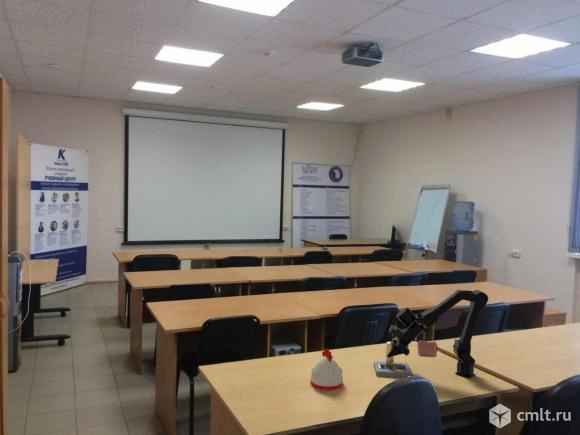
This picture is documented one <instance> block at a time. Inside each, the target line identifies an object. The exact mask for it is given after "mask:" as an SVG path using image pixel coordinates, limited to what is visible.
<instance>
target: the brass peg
mask: <svg viewBox="0 0 580 435" xmlns="http://www.w3.org/2000/svg"><path fill="white" fill-rule="evenodd" d="M385 345H386V349H385V351H386V352H385V362H386V366H384V369H388V370H395V371H396V368H395V367H394V361H395V356H393V357H389V358H388V357H387V355H388V354H389V352H390V351H391V350H392V349H393V347H394V342H392V341H386V342H385Z"/></svg>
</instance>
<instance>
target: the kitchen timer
mask: <svg viewBox="0 0 580 435" xmlns="http://www.w3.org/2000/svg"><path fill="white" fill-rule="evenodd" d="M321 355H322V357H321V358H319V359H318V360H317V361H316V363H315V364H314V366H313V367H311V375H310V385H311V386H312V387H313V388H314V389H317V388H318V389H317V390H321V391H336V390H338V389H341V388H342V387H343V386H344V385H343V384H344V379H343V368H342V367H341V366H340V365H339V364H338V362H337V360H335V358H333V357H334V355H332V351H330V349H328V348H325V349H324V350H323V351H321Z"/></svg>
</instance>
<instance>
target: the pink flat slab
mask: <svg viewBox="0 0 580 435" xmlns="http://www.w3.org/2000/svg"><path fill="white" fill-rule="evenodd" d="M417 354H418V356H419V357H425V358H436V357H437V342H436V341H427V340H421V339H419V340H418V341H417Z"/></svg>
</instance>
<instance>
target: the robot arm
mask: <svg viewBox="0 0 580 435" xmlns="http://www.w3.org/2000/svg"><path fill="white" fill-rule="evenodd" d="M461 301H467V302H469V311H468V313H467V318H466V319H465V323H464V326H463V330H462V333H461V335H460V337H459V338H458V339H456V338H455V339H454V343H453V345H452V348H453V349H452V350H453V353H454V354H455V355H456V356H457V358H458V359H457V363H456V372H454V373H455V374H456V375H458V376H460V377H463V378H466V379H469V378H472V377H474V376H476V373H474V372H475V370H474V369H475V363H476V359H475V358H474V357H473V356H472V355H471V352H472V339H473V336H474V333H475V330H476V327H477V323H478V321H479V317H480V313H481V312H482V311H483V310H484V309H485V307H486V306H487V303H488V302H489V296H488V294H487V293H485V292H484V291H481V289H475V290H465V289H464V290H463V289H457V290H455V292H453V293H452V294H450V295H449V296H448V297H447V298H445V299H444V300H443V301H441V302H440V303H438V304H437V305H436V306H434V307H431V308H428V309H425V310H424V311H422V312H421V313H413V311H411V309H410V308H409V307H405V308H403V309H402V310H401V309H400V311H399V312H398V313H397V314H396V318H397V319H398V320H399V321H400V322H401V323H402V325H404V326H406V327H407V328H403V329H402V328H399V327H397V326H395V325H393V324H391V325H390V327H389V329H388V332H389V334H390V335H391V336H392V337H391V342H394V347H393V349H392V350H391V351H390V352H389V354H388V355H387V357H388V358H389V357H393V356H394V357H395V356H399V355H400V356H401V355H405V356H406V357H407V356H408V355H410V353H411V351H410V348H409V347H410V346H409V345H410V344H411V343H412V342H416V339H417V338H418V337H419V336H420V335H422V333H423V332H424V333H425V334H426V335H428V334H429V331H428V330H429V328H430V327H432V326H434V325H435V324H436V323H437V321H438V320H439V319H440V317H441V316H443V314H445V313H446V312H448V311H449V310H450V309H452V308H454V307H455V306H456V305H457V304H458V303H460V302H461Z"/></svg>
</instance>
